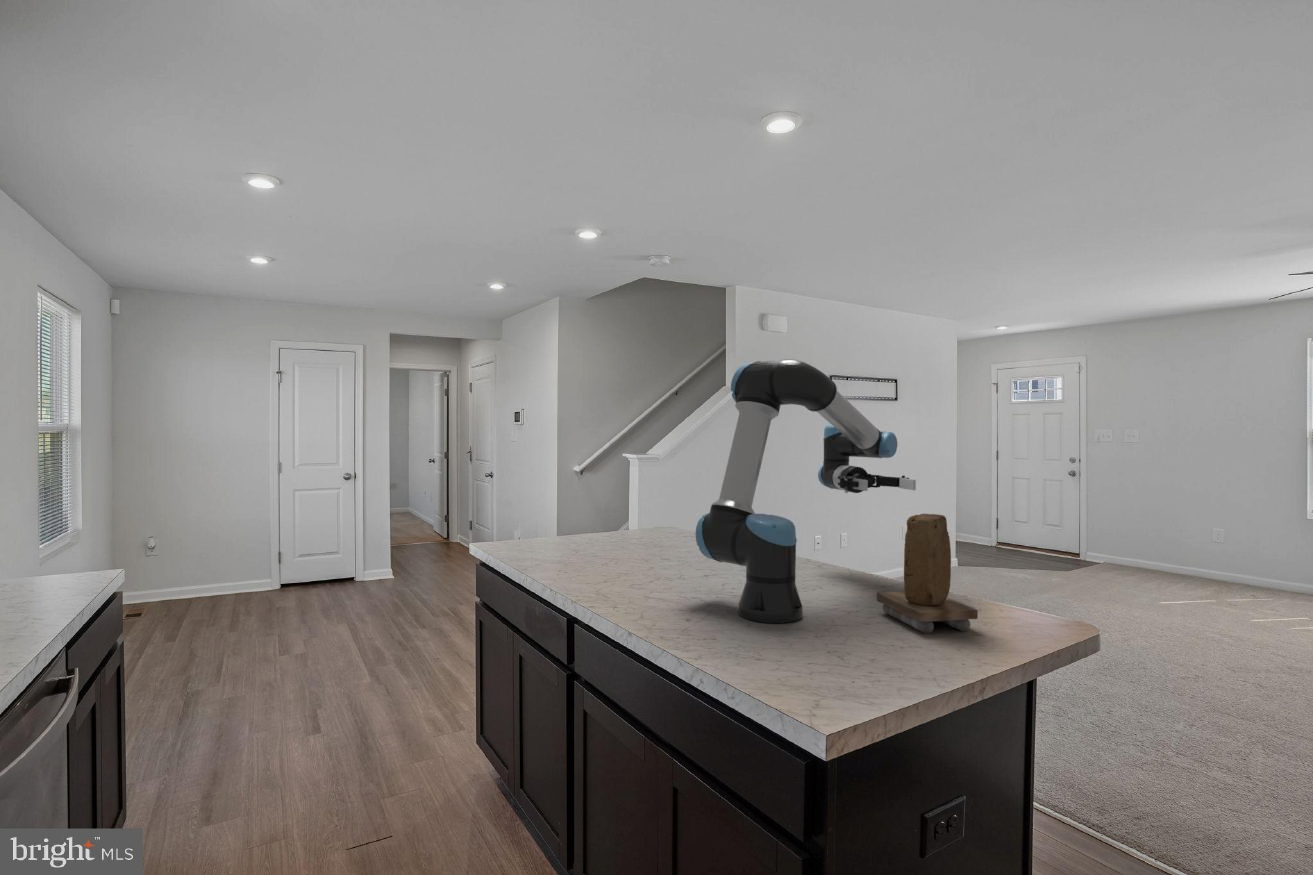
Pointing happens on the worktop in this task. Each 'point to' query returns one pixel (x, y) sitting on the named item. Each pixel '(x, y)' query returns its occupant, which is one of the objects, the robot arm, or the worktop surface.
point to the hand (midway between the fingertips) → (890, 485)
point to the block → (927, 560)
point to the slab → (927, 612)
